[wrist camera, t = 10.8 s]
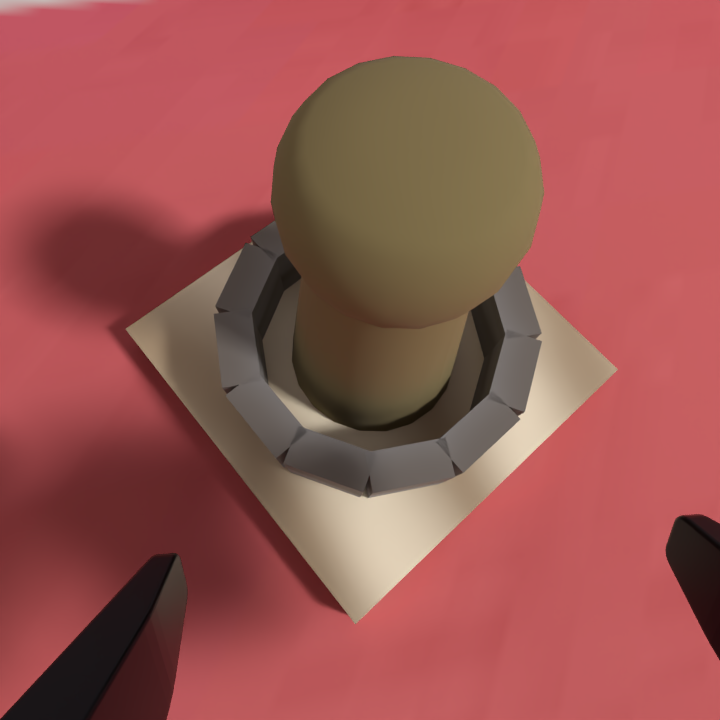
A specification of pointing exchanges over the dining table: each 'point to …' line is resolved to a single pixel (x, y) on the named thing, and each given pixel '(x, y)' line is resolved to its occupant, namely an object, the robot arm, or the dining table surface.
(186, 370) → the collar board
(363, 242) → the cork
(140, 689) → the robot arm
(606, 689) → the dining table surface
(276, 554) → the dining table surface
